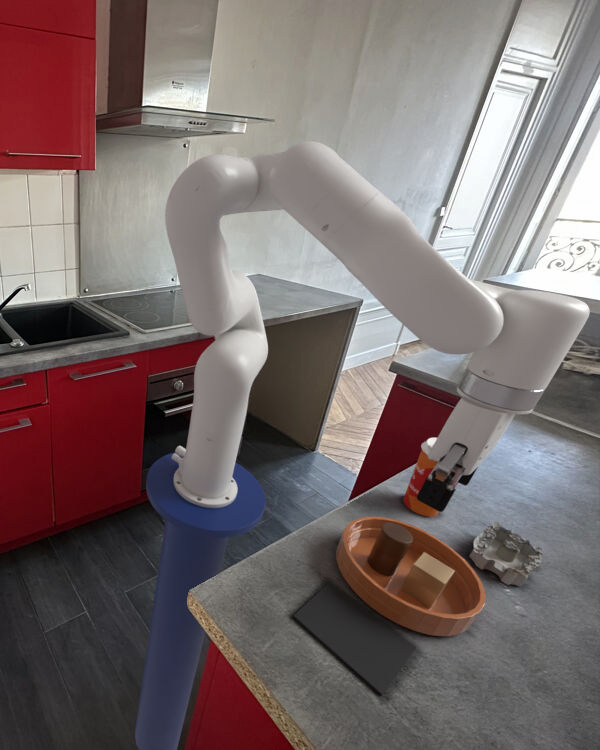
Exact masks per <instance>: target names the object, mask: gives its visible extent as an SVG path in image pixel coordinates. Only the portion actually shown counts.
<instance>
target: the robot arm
mask: <svg viewBox="0 0 600 750" xmlns="http://www.w3.org/2000/svg"><path fill="white" fill-rule="evenodd" d="M282 210H283V211H285V212H286V213H287V214H288V215H289V216H291V218H293V219H294V220H295V221H296V222H297V223H298V224H299V225H301V226H302V227H303V228H304V229H305V230H306V231H307V232H308V233H309V234H311V235H312V236H313V237H314V238H315V239H316V240H317V241H318V242H319V243H320V244H321V245H323V246H324V247H325V248H326V249H327V250H328V251H329V252H330V253H332V255H333V256H335V258H336V259H337V260H339V261H340V262H341V264H343V266H344V267H345V268H346V270H347V271H348V272H349V273H350V274H351V275H352V276H353V277H354V278H355V279H357V280H358V281H359V282H360V284H362V285H363V287H365V289H366V290H368V292H369V293H370V294H371V295H372V296H373V297H374V298H375V300H377V301H378V302H379V303H380V304H381V305H382V306H383V307H384V308H385V309H386V311H388V312H389V313H390V314H391V315H392V316H393V317H394V318H395V319H397V320H398V322H400V323H401V324H402V325H403V326H404V327H405V328H407V330H409V331H410V333H412V334H413V335H414V336H415V337H416V338H417V339H418V340H419V341H421V342H422V343H423V344H424V345H426V346H428V347H429V348H430V349H433V350H435V351H437V352H439V353H442V354H443V353H444V354H448V355H459V356H460V355H469V354H472V353H473V354H472V357H471V359H470V360H469V362H468V365H467V367H466V369H465V371H464V373H463V375H462V377H461V379H460V380H459V383H458V385H457V387H456V392H457V393H458V395H460V396H461V398H460V400H459V401H458V402H457V403H456V405H455V406H454V408H453V409H452V411H451V413H450V414H449V417H448V418H447V419H446V421H445V423H444V424H443V426H442V429H441V430H440V432H439V433H438V435H437V437H436V438H437V440H436V441H435V443H434V445H433V447H432V448H431V450H430V452H429V454H428V458H429V460H434V461H437V460H439V459H440V460H439V461H438V463H437V464H436V466H435V467H434V469H433V470H432V472H431V473H430V475H429V476H428V477H427V478H426V480H425V482H424V484H423V486H422V488H421V490H420V492H419V494H418V495H417V500H419V501H420V502H422V503H424V504H426V505H428V506H430V507H432V508H433V509H435V510H437V511H439V512H440V513H442V512H444V511H445V510H446V508H447V506H448V505H449V502H450V501H451V499H452V498H453V496H454V494H455V492H456V488H455V489H454V486H455V485H456V483H457V482H458V484H460V485H462V486H468V485H469V484H470V482H471V480H472V478H473V477H474V475H475V473H476V472H477V470H478V468H479V466H480V465H481V464H482V463H483V462H484V461H485V460H486V459H487V458H488V456H489V455H490V454H491V453H492V451H493V450H494V449H495V447H496V446H497V445H498V444H499V442H500V440H501V439H502V437H503V436H504V434H505V432H506V431H507V429H508V427H509V426H510V424H511V422H512V421H513V419H514V418H515V416H516V415H517V416H518V415H519V416H520V415H521V416H524V415H529V414H531V413H532V412H533V411H534V410H535V407H536V406H537V405H538V402H539V400H540V399H541V398H542V396H543V394H544V393H545V391H546V389H547V387H548V386H549V384H550V382H551V381H552V379H553V378H554V376H555V374H556V373H557V371H558V370H559V367H560V366H561V364H562V363H563V361H564V359H565V358H566V356H567V354H568V353H569V351H570V350H571V348H572V346H573V345H574V343H575V341H576V340H577V338H578V336H579V335H580V333H581V331H582V330H583V328H584V327H585V325H586V322H587V321H588V319H589V317H590V313H591V312H590V311H591V310H590V308H589V305H588V304H587V303H586V302H584V301H583V300H580V299H578V298H576V297H572V296H569V295H564V294H560V293H554V292H549V291H540V290H532V289H531V290H529V289H521V290H517V289H512V288H508V287H503V286H498V285H494V284H491V283H486V282H483V281H479V280H475V279H471V278H468V277H467V276H465V275H464V274H463V273H462V272H461V271H460V270H459V269H457V267H455V266H454V265H453V264H452V263H451V262H450V261H449V260H447V259H446V258H445V256H443V255H442V254H441V253H440V252H439V251H438V250H436V248H435V247H433V245H432V244H431V243H430V242H429V241H427V239H426V238H425V237H424V236H423V235H422V234H421V233H420V231H419V229H417V228H416V225H414V223H413V221H412V220H411V219H410V218H409V216H408V215H406V213H405V212H404V211H403V210H402V209H401V208H400V207H399V206H397V204H396V203H394V202H393V201H392V200H390V199H389V198H388V197H387V196H386V195H385V194H383V193H382V192H381V191H380V190H379V189H378V188H376V187H375V186H374V185H372V183H370V181H368V180H367V179H366V178H365V177H364V176H362V175H361V174H360V173H359V172H357V171H356V170H355V168H353V167H352V166H351V165H349V164H348V163H347V162H346V161H345V160H344V159H343V158H341V157H340V156H339V154H338V153H337V152H336V151H335V150H334V149H333V148H332V147H330V146H327V145H326V144H324V143H322V142H318V141H314V140H308V141H307V140H306V141H302V142H299V143H296V144H294V145H292V146H291V147H289V148H287V149H285V151H280V152H272V153H266V154H265V153H264V154H259V155H258V154H257V155H249V156H241V157H240V156H234V155H230V154H224V153H223V154H222V153H216V154H210V155H205V156H203V157H200V158H199V159H196V160H195V161H194V162H192V163H190V165H188V166H187V168H185V169H184V170H183V171H182V173H180V175H179V176H178V177H177V179H176V180H175V181H174V183H173V185H172V187H171V189H170V192H169V194H168V197H167V200H166V204H165V209H164V211H165V212H164V221H165V231H166V234H167V238H168V242H169V246H170V249H171V253H172V256H173V259H174V264H175V268H176V273H177V278H178V281H179V285H180V290H181V293H182V297H183V301H184V306H185V310H186V314H187V317H188V321H189V323H190V325H191V326H192V327H193V328H194V330H196V332H198V333H199V334H202V335H204V336H209V337H210V336H212V337H213V336H214V341H213V342H212V343H211V344H210V345H208V346H207V348H206V349H205V350H204V351H203V352H202V353H201V354H200V356H199V358H198V360H197V362H196V365H195V368H194V375H193V401H192V408H191V413H190V414H191V415H190V421H189V426H188V427H189V428H188V435H187V441H186V447H183V446H181V445H178V446H177V447H176V448H175V451H174V453H175V454H173V455H172V459H173V460H174V461H176V462H178V463H179V468H178V469H177V470H176V472H175V474H174V479H173V481H174V487H175V489H176V491H177V492H178V493H179V494H180V495H181V496H182V497H183V498H184V499H185V500H187V501H189V502H190V503H193V504H195V505H198V506H201V507H206V508H221V507H224V506H227V505H229V504H231V503H232V502H233V501H234V500H235V498H236V495H237V490H238V488H237V484H236V482H235V480H234V479H233V477H232V475H233V471H234V466H235V462H236V463H237V457H238V453H239V448H240V443H241V440H242V436H243V435H242V434H243V431H244V426H245V422H246V418H247V417H246V416H247V411H248V405H249V398H250V393H251V389H252V386H253V383H254V381H255V379H256V378H257V376H258V375H259V373H260V371H261V370H262V368H263V367H264V365H265V363H266V361H267V358H268V354H269V343H268V338H267V333H266V328H265V324H264V320H263V315H262V309H261V305H260V300H259V296H258V293H257V290H256V287H255V285H254V284H253V282H252V281H251V279H250V278H249V277H248V276H247V275H246V274H244V273H243V272H240V271H238V270H234V269H233V268H232V264H231V260H230V255H229V249H228V245H227V243H226V240H225V238H224V235H223V233H222V229H221V227H220V224H221V218H223V217H224V216H230V215H236V214H244V213H256V212H270V211H282ZM176 453H177V454H178V455H179V456H178V455H177V454H176ZM180 456H181V457H183V458H180ZM439 512H438V513H439Z"/></svg>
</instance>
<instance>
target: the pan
mask: <svg viewBox="0 0 600 750" xmlns="http://www.w3.org/2000/svg"><path fill="white" fill-rule="evenodd" d="M385 523H394V524H397V525H400V526H402V527H404V528H405V529H407V530H408V531H409V532H410V533H411V535H412V537H413V540H412V542H411V544H410V546H409V548H408V550H407V552H406V554H405V556H404V558H403V560H402V562H401V563H400V565H399V567H398V569H397V571H396V573H395V574H394V575H393V576H385V575H382V574H379V573H378V572H376V571H375V570H373V569H372V568H371V567H370V565H369V564H368V561H367V558H368V556H369V554H370V552H371V550H372V548H373V546H374V543H375V541H376V539H377V537H378V535H379V533H380V531H381V529H382V526H383V525H384V524H385ZM335 551H336V552H335V553H336V554H335V559H336V563H337V566H338V570H339V571H340V573H341V575H342V577H343V579H344V580H345V581H346V583H347V584H348V585H349V587H350V588H351V590H352V591H354V593H355V594H356V595H357V596H358V597H359V598H360V599H362V601H363V602H364V603H365V604H367V605H368V606H369V607H370V608H372V609H373V610H374V611H376V612H377V613H379V614H380V615H381V616H383V617H384V618H386V619H388V620H389V621H391V622H393V623H395V624H398V625H399V626H401V627H403V628H406V629H407V630H408V629H409V630H412V631H414V632H417V633H421V634H424V635H428V636H434V637H435V636H436V637H452V636H458V635H461V634H463V633H464V632H466V631H467V630H469V629H470V627H471V626H472V624H473V623H474V621H475V620H476V619H477V617H478V616H479V615H480V613H481V612H482V610H483V608H484V607H485V605H486V596H487V595H486V591H485V588H484V584H483V582H482V580H481V578H480V577H479V575H478V574H477V572H476V570H475V569H474V568H473V567H472V566H471V565H470V563H469V562H468V561H467V560H466V559H465V558H464V557H462V556H461V554H459V553H458V552H457V551H456V550H455V549H454V548H452V547H451V546H450V545H448V544H446V543H445V542H444V541H442V540H441V539H439V538H438V537H436V536H434V535H432V534H431V533H429V532H428V531H426V530H424V529H421V528H419V527H417V526H415V525H413V524H410V523H406V522H404V521H400V520H397V519H393V518H389V517H384V516H361V517H359V518H356V519H353V520H352V521H350V522H349V523H348V524H347V525H346V526H345V528H344V530H343V532H342V535H341V537H340V539H339V542H338V544H337V547H336V549H335ZM424 552H425V553H427V554H428V555H430V556H432V557H433V558H435V559H437V560H438V561H440V562H442V563H443V564H445V565H447V566H448V567H450V568H451V569H453V570H455V572H454V574H453V575H452V577H451V579H450V580H449V582H448V583H447V585H446V587H445V588H444V590H443V592H442V593H441V595H440V596H439V597H438V599H437V600H436V601H435V603H434V604H433V605H432V607H431V608H428V607H427V606H425V605H424V604H422V603H421V602H419V601H418V600H417V599H415V598H414V597H412V596H411V595H409V594H408V593H406V592H405V591H403V590H402V589H401V586H402V584H403V582H404V580H405V579H406V577H407V575H408V573H409V571H410V569H411V568H412V566H413V564H414V563H415V562H416V561H417V559H418V558H419V557H420V556H421V555H422V554H423V553H424Z"/></svg>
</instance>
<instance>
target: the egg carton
mask: <svg viewBox="0 0 600 750" xmlns="http://www.w3.org/2000/svg"><path fill="white" fill-rule="evenodd" d="M543 552H544V551H543V548H541V547H536V546H534V545H532V543H531V541H530V539H525V538H523V537H522V536H521V535H520V534H517V533H516V532H515V531H513V530H512V529H508V528H506V527H505V526H503V524H501V523H500V522H498V521H497V520H494V521H493V522H492V523H491V524H490V525H489V526H487V527H486V528H485V529H484V530H483V531H481V533H479V534H478V535H477V536H476V537H475V538H474V539H473V549H472V551H471V552H470V554H469V557H468V558H470V559H471V560H472V561H473V562H474V564H475V566H476V567H477V568H479V569H480V570H488V571H491V572H492V573H495V574H496V575H497V576H498V577H499V579H500V581H501V582H502V583H504V584H505V585H507V586H509V585H513V586H517V587H521V586H522V585H523V584H525V582H527V579H528V578H529V575H530V573H531V572H532V571H533V570H536V569H537V568H538V567H539V566H541V564H542V561H543V554H544V553H543Z"/></svg>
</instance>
